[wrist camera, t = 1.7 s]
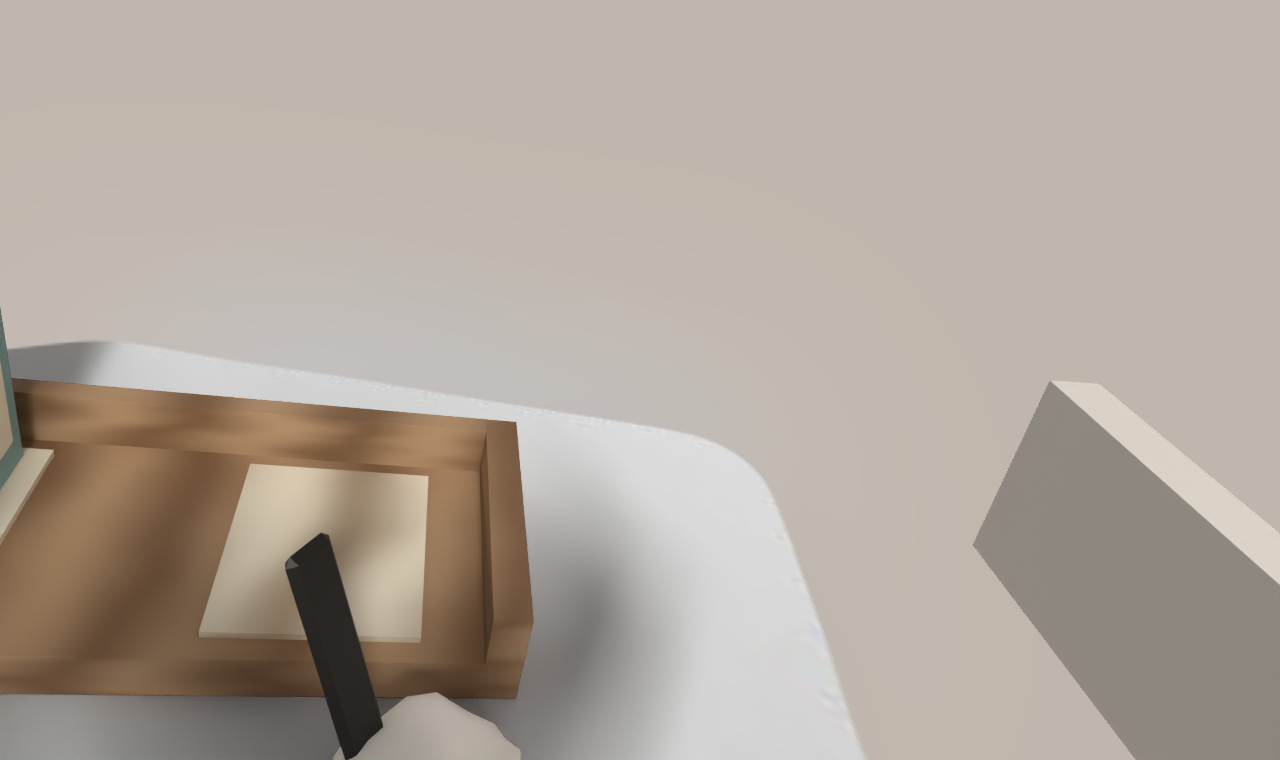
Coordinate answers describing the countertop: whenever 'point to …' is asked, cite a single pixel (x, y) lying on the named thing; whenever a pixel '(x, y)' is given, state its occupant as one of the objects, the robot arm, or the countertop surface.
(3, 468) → the teal carton
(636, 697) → the countertop surface
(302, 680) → the tray
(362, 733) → the cocoa
